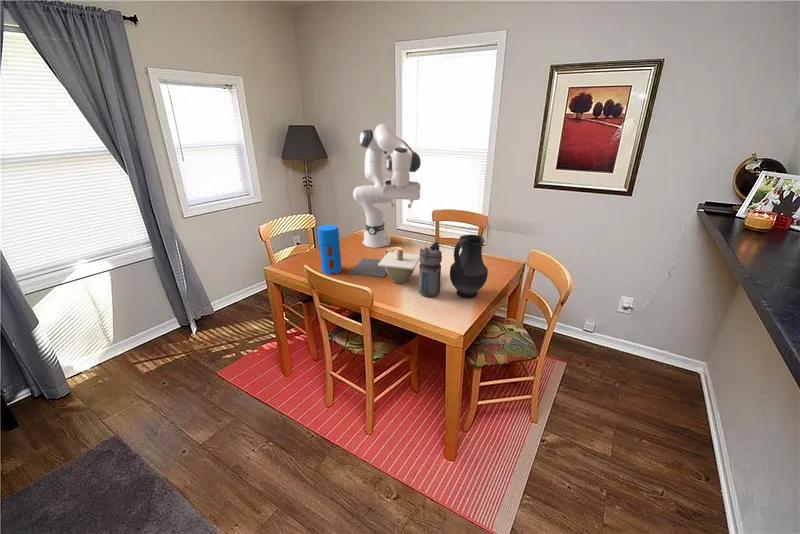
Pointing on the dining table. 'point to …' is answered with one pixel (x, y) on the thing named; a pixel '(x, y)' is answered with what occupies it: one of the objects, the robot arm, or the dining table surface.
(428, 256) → the beverage bottle
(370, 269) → the mat
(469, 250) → the pitcher
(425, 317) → the dining table surface
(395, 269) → the planter bowl
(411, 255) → the lid
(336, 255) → the blue slotted cylinder
